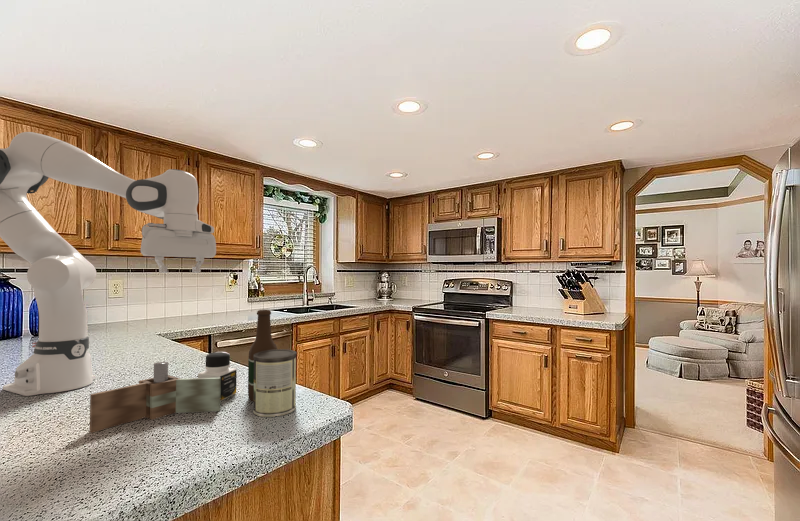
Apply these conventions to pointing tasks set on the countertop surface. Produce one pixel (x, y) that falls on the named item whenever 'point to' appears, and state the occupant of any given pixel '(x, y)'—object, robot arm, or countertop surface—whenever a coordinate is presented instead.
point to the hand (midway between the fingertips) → (180, 272)
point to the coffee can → (274, 382)
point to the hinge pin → (160, 372)
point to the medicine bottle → (221, 372)
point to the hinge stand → (153, 400)
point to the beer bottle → (259, 346)
